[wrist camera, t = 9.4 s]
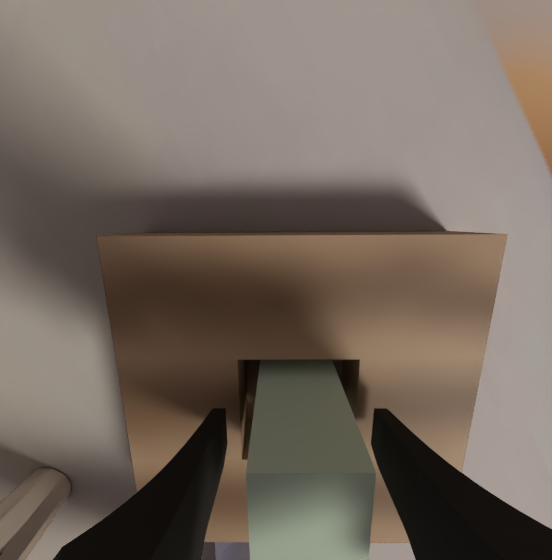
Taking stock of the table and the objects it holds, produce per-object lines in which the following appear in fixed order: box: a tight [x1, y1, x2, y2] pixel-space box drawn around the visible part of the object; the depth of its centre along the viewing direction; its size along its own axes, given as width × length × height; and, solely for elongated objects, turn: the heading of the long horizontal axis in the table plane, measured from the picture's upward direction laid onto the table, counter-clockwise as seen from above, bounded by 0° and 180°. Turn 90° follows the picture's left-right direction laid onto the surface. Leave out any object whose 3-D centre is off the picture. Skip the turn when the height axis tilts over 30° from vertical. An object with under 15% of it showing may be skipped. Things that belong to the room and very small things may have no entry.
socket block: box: [96, 231, 508, 543], centre depth 15 cm, size 18×18×4 cm
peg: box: [246, 359, 376, 560], centre depth 12 cm, size 4×4×8 cm
